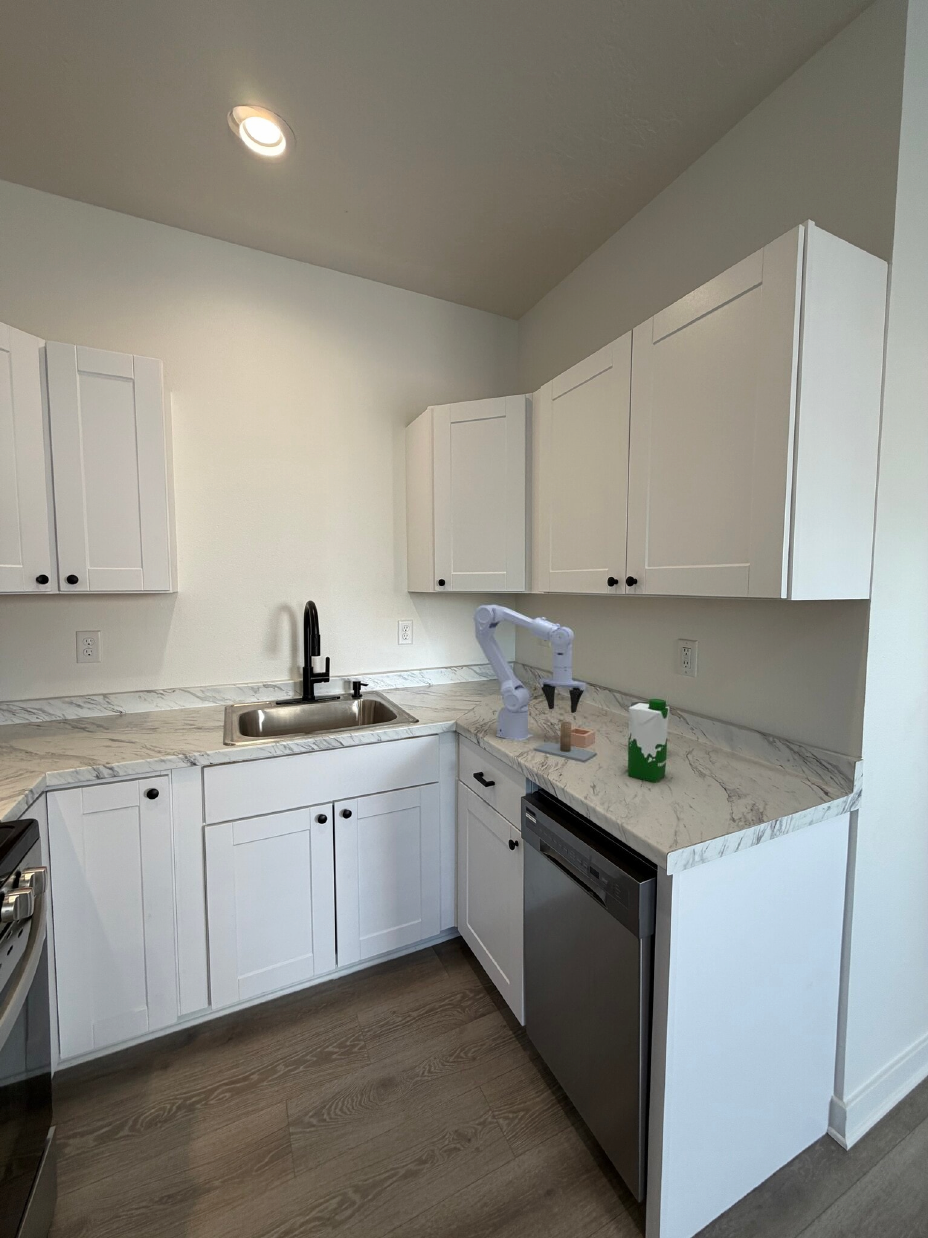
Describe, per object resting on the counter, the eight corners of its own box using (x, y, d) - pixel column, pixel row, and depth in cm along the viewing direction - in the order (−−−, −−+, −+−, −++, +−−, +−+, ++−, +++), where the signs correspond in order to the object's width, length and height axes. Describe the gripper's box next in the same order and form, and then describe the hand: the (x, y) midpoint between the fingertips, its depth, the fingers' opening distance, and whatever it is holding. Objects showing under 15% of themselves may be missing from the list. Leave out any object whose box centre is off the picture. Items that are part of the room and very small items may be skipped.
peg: (558, 750, 149) (558, 723, 148) (562, 748, 151) (563, 721, 151) (567, 752, 147) (568, 725, 147) (572, 750, 149) (573, 723, 149)
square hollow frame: (563, 744, 158) (564, 732, 158) (573, 739, 164) (574, 727, 163) (584, 749, 154) (585, 736, 154) (594, 744, 159) (595, 731, 159)
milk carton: (658, 785, 127) (661, 705, 126) (622, 776, 133) (625, 699, 131) (669, 775, 134) (672, 699, 132) (635, 767, 139) (637, 694, 138)
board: (533, 752, 151) (533, 748, 151) (547, 745, 157) (547, 741, 157) (584, 764, 141) (584, 760, 141) (596, 757, 147) (596, 752, 147)
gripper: (590, 667, 156) (589, 711, 157) (547, 663, 165) (547, 705, 166) (579, 670, 151) (579, 715, 152) (536, 665, 160) (536, 709, 161)
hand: (562, 710), depth 159 cm, fingers open, 7 cm apart
